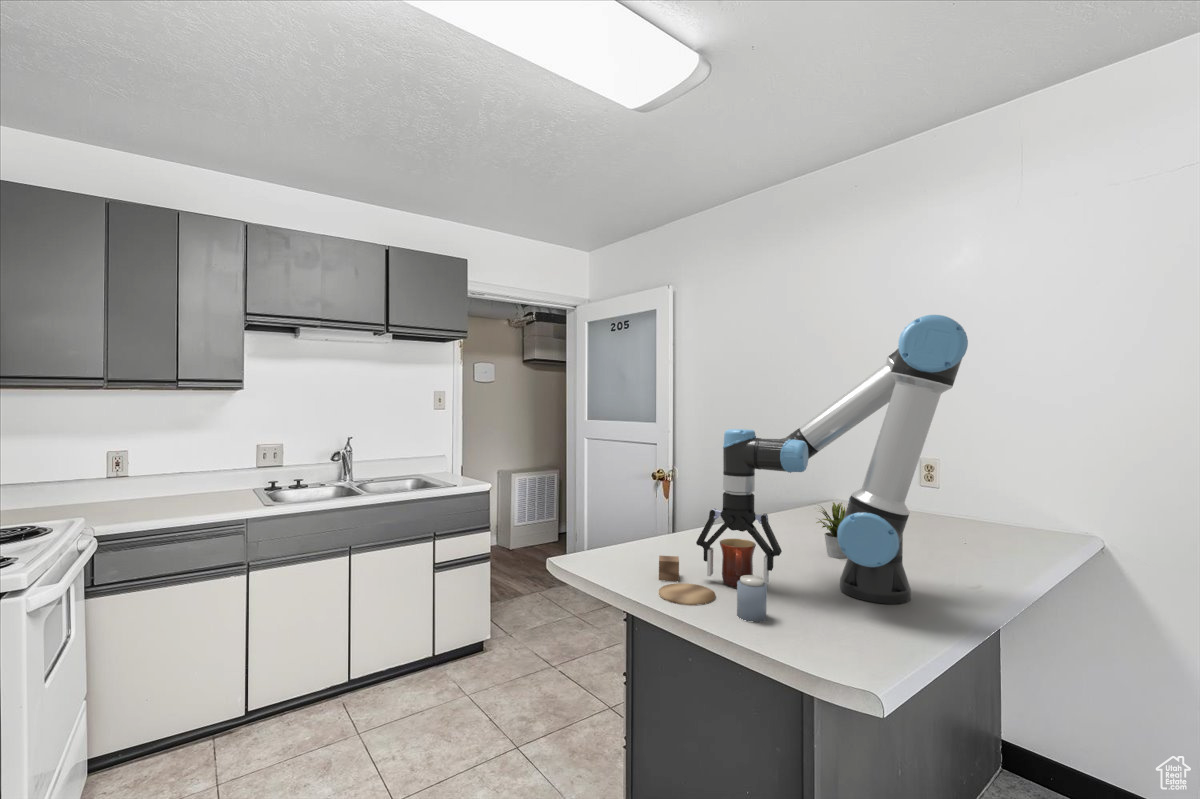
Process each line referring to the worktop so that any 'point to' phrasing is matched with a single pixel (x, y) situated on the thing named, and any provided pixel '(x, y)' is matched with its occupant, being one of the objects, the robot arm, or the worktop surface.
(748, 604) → the jar
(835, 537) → the house plant
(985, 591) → the worktop surface
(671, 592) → the trivet
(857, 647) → the worktop surface
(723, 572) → the mug
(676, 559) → the block
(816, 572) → the worktop surface
